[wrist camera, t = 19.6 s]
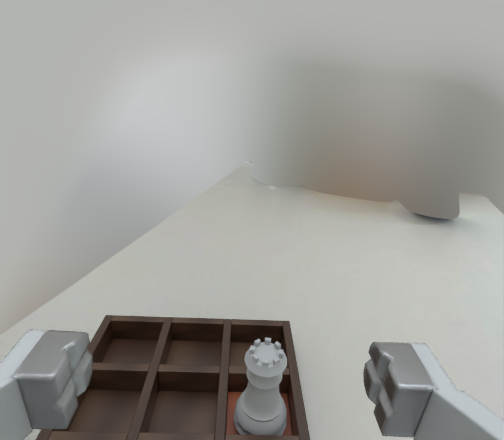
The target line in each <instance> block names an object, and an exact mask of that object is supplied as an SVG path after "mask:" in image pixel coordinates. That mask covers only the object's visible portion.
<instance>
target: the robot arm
mask: <svg viewBox="0 0 504 440" xmlns="http://www.w3.org/2000/svg"><path fill="white" fill-rule="evenodd" d="M89 344H90V340H89V335H88V333H85V332H73V331H56V330H49V331H48V330H33V329H31V330H29V331H27V332H26V333H25V334H24V335H23V336H22V337H21V338H20V340H19V341H18V342H17V343H16V344H15V346H14V347H13V348H12V349H11V350H10V352H9V353H8V354H7V355H6V356H5V358H4V359H3V360H2V361H1V362H0V440H23V439H24V438H25V437H26V436H28V435H29V434H30V433H31V432H32V429H67V427H68V425H69V423H70V421H71V419H72V417H73V415H74V413H75V411H76V409H77V407H78V400H77V397H78V396H79V395H80V394H81V393H83V392H84V391H85V390H86V389H87V387H88V384H89V382H90V380H91V376H92V372H93V356H92V354H91V353H90V352H89V351H88V350H87V348H88V346H89ZM369 354H370V356H371V359H370V360H369V361H368V362H367V363H365V368H364V386H365V390H366V393H367V396H368V398H369V399H370V400H371V401H372V402H373V403H374V404H376V407H375V410H374V415H375V417H376V420H377V422H378V425H379V428H380V430H381V433H382V436H396V437H414V440H504V419H503V418H501V417H500V416H499V415H497V414H496V413H494V412H493V411H492V410H490V409H489V408H487V407H486V406H484V405H483V404H482V403H480V402H479V401H477V400H476V399H474V398H473V397H472V396H470V395H469V394H467V393H466V392H464V391H458V389H457V388H456V386H455V385H454V383H453V382H452V380H451V379H450V377H449V376H448V374H447V373H446V371H445V370H444V368H443V367H442V365H441V364H440V362H439V361H438V359H437V358H436V356H435V355H434V353H433V352H432V350H431V349H430V347H429V346H428V345H426V344H425V343H394V342H373V343H372V344H371V346H370V349H369Z"/></svg>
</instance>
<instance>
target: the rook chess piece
mask: <svg viewBox="0 0 504 440" xmlns="http://www.w3.org/2000/svg"><path fill="white" fill-rule="evenodd" d="M244 360H245V363H246V366H247V373H246V375H247V378H248V380H249V381H248V385H247V388H246V389H245V391H244V392H243V393H242V394H241V395H240V397H239V398H238V400H237V402H236V407H235V413H234V422H235V426H236V429H237V430H238V432H239V433H240V434H241V435H282V434H283V432H284V430H285V428H286V418H287V409H286V405H285V403H284V400H283V398H282V397H281V395H280V393H279V384H280V382H281V380H282V372H283V371H284V370H285V368H286V366H287V358H286V355H285V353H284V352H283V350H281V344H280V343H279V342H278V341H276V342H275V344H272V343H271V338H265V342H262V343H261V341H260V339H257V340H255V341H254V346H252V345H251V347H250V348H249V350H248V351H247V352H246V353H245V359H244Z"/></svg>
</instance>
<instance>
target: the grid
mask: <svg viewBox="0 0 504 440" xmlns="http://www.w3.org/2000/svg"><path fill="white" fill-rule="evenodd" d="M265 338H271V343H272V344H275V342H276V341H278V342H279V343H280V344H281V350H283V352H284V353H285V355H286V358H287V366H286V368H285V370H284V371H283V372H282V380H281V382H280V384H279V393H280V395H281V397H282V398H283V400H284V403H285V405H286V409H287V418H286V428H285V430H284V432H283V434H282V435H241V434H240V433H239V432H238V430H237V429H236V426H235V422H234V413H235V407H236V402H237V400H238V398H239V397H240V395H241V394H242V393H243V392H244V391H245V389H246V388H247V385H248V381H249V380H248V378H247V375H246V373H247V366H246V363H245V360H244V359H245V353H246V352H247V351H248V350H249V348H250V347H251V345H252V346H254V341H255V340H257V339H260V341H261V343H262V342H265ZM87 350H88V351H89V352H90V353H91V354H92V356H93V372H92V376H91V380H90V382H89V384H88V387H87V389H86V390H85V391H84V392H83V393H81V394H80V395H79V396H78V397H77V400H78V407H77V409H76V411H75V413H74V415H73V417H72V419H71V421H70V423H69V425H68V427H67V429H42V430H41V431H40V433H39V435H38V437H37V439H36V440H310V437H309V431H308V425H307V420H306V414H305V408H304V402H303V397H302V391H301V385H300V380H299V374H298V368H297V362H296V357H295V351H294V345H293V339H292V334H291V328H290V322H289V321H271V320H240V319H232V320H231V319H208V318H176V317H173V318H172V317H166V318H165V317H144V316H113V315H106V316H105V318H104V320H103V321H102V323H101V325H100V327H99V328H98V330H97V332H96V334H95V336H94V337H93V339H92V341H91V343H90V344H89V346H88V348H87Z"/></svg>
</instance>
